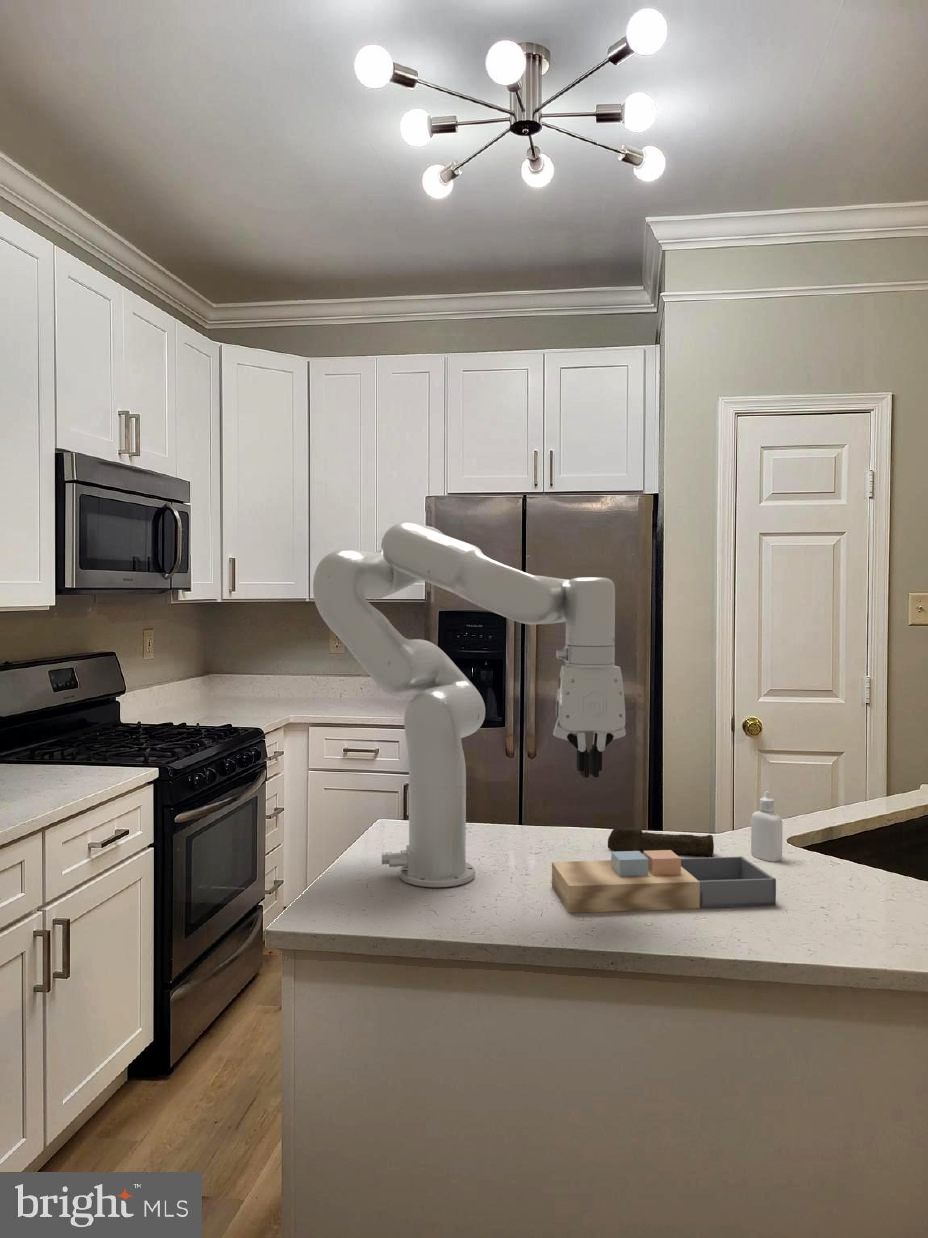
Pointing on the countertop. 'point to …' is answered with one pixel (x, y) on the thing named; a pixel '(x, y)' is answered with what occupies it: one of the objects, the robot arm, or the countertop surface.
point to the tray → (731, 882)
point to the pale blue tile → (629, 863)
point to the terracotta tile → (663, 862)
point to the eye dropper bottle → (766, 831)
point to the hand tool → (659, 842)
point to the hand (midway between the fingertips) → (589, 775)
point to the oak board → (621, 888)
